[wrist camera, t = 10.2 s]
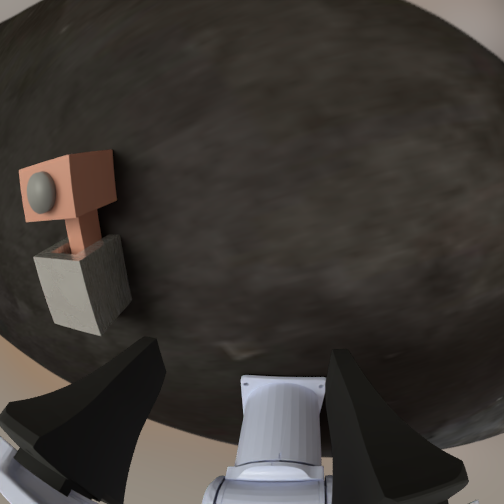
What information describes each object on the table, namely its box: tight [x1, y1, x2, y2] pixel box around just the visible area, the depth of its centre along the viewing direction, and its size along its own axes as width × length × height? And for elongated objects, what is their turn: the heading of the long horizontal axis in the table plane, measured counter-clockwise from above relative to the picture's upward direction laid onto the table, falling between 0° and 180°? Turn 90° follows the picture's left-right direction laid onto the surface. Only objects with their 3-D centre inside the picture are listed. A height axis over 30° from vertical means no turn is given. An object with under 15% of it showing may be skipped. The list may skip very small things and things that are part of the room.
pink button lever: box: [19, 150, 117, 254], centre depth 18 cm, size 14×6×6 cm, turn 1°
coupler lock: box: [34, 235, 132, 336], centre depth 19 cm, size 6×5×5 cm
